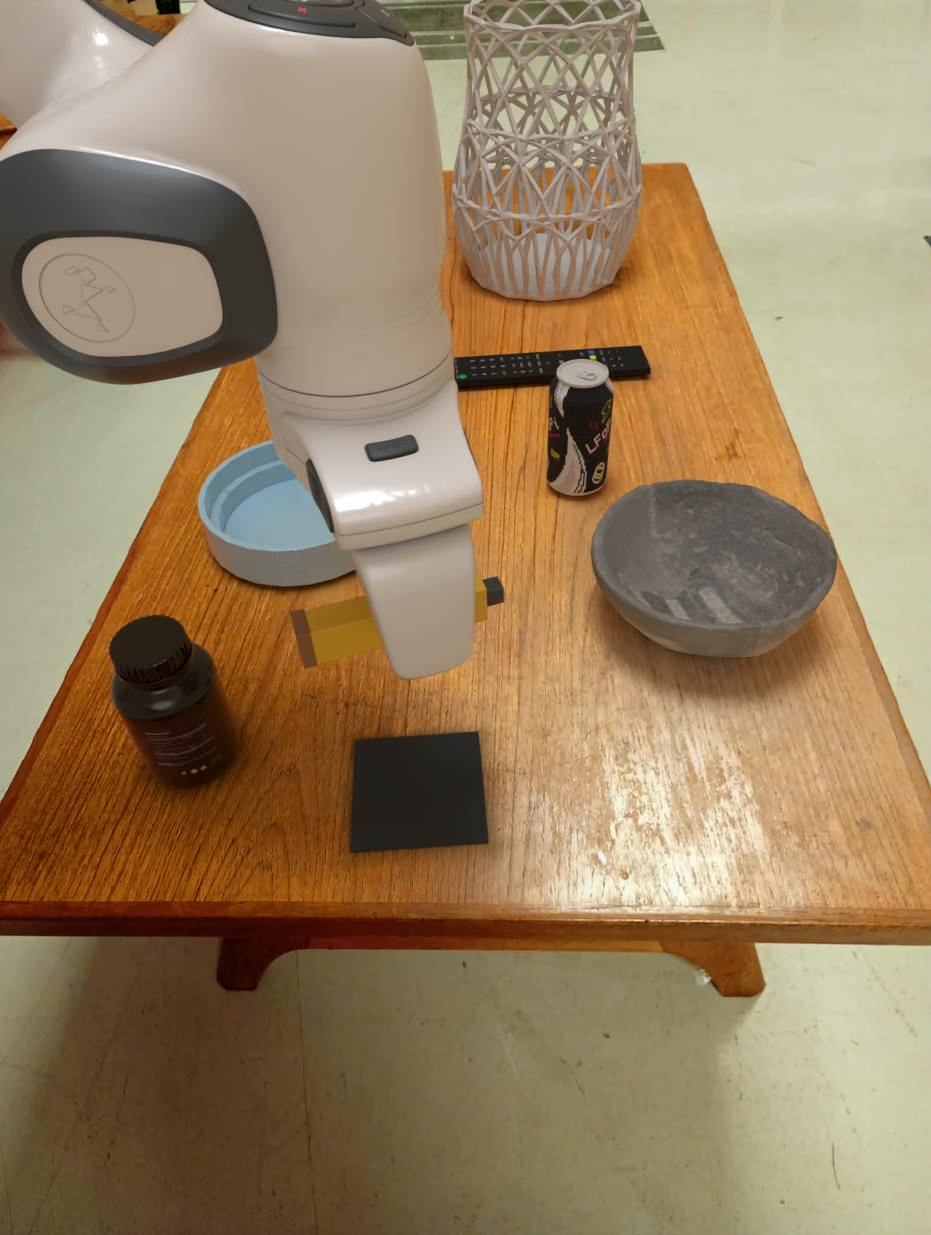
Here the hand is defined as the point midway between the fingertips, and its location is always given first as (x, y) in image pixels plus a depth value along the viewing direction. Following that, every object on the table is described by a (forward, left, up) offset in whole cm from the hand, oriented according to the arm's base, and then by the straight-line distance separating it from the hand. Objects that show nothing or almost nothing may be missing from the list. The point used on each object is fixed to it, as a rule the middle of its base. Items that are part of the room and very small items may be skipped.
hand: (390, 614), depth 51 cm
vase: (+19, +82, -16) cm, 85 cm away
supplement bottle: (-16, +3, -16) cm, 23 cm away
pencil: (0, 0, -2) cm, 2 cm away
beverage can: (+16, +33, -16) cm, 40 cm away
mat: (0, -1, -16) cm, 16 cm away
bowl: (+23, +14, -16) cm, 31 cm away
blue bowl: (-10, +29, -16) cm, 34 cm away
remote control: (+15, +54, -16) cm, 58 cm away
